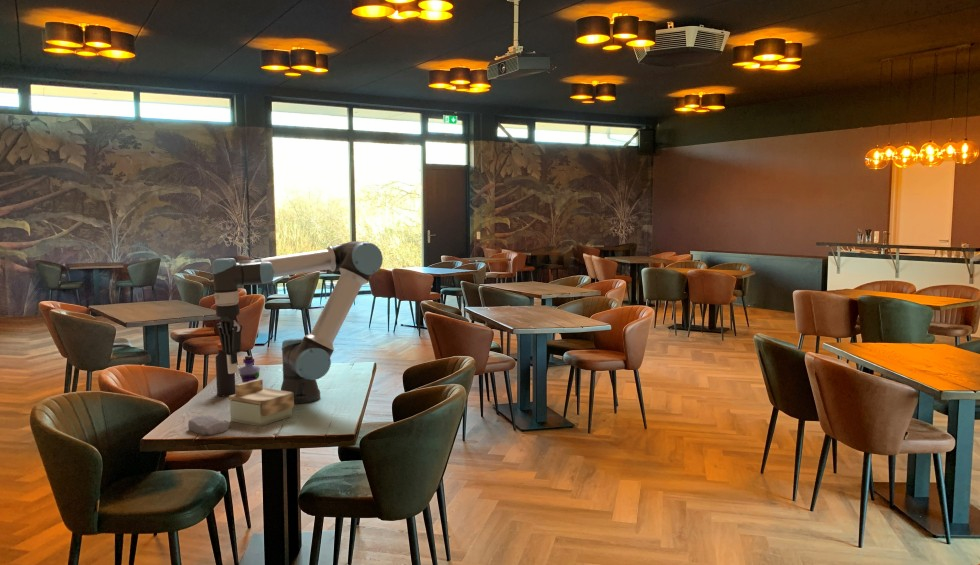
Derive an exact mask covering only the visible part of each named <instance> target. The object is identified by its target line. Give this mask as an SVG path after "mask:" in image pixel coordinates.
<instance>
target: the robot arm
mask: <svg viewBox="0 0 980 565" xmlns="http://www.w3.org/2000/svg"><path fill="white" fill-rule="evenodd" d="M383 259H384V257H383V254H382V251H381V249H380V248H379V247H378V246H377V245H376V244H375V243H373V242H369V241H366V240H365V241H353V240H352V241H348V242H343V243H340V244H337V245H330V246H329V245H328V246H327V248H326V249H320V250H314V251H306V252H305V251H304V252H300V253H299V252H297V253H292V254H291V253H290V254H285V255H276V256H271V257H263V258H262V257H261V258H255V259H249V260H248V259H243V260H239V261H238V262H237V261H236V259H235V258H233V257H226V258H215V259H214V260H213V261H212V262H211V263H212V272H211V273H212V280H213V282H212V283H213V290H214V291H213V292H214V296H213V299H214V301H215V302H214V303H215V314H216V315H215V316H216V318H219V323H216V325H215V327H216V328H217V331H218V336H219V340H220V343H221V347H222V351H223V352H225V354H227V366H228V373H229V374H232V373H235V374H236V373H238V372H239V370H238V361H237V360H238V359H237V358H238V357H237V355H238V353H240V352H241V343H242V342H241V341H242V340H241V339H242V338H241V337H242V329H243V325H241V324H240V325H239V324H238V318H237V316H239V315H240V314H241V311H240V304H239V302H240V298H239V289H238V287H239V286H247V285H260V284H262V285H264V284H267V283H268V284H269V283H272V282H273V280H274V278H280V277H285V276H292V275H299V274H307V273H313V272H321V271H326V270H329V271H331V272H338V271H339V272H340V275H339V278H338V279H337V282H336V283H335V286H334V287H333V289H332V292H331V293H330V296H329V297H328V299H327V301H326V303H325V304H324V307H323V309H322V310H321V313H320V315H319V316H318V319H317V321H316V322H315V324H314V326H313V328H312V330H311V332H310V333H308V334H305V335H304V336H303V337H301V338H292V339H285V340H283V341H282V342H281V343H282V345H281V352H282V353H281V354H282V355H281V356H282V382H281V383H282V384H281V386H280V387H281V388H280V390H282V391H289V392H292V393H294V405H295V404H306V403H312V402H315V401H318V400H320V399H321V390H320V388H319V386H318V383H317V380H319V379H321V378H323V377H324V376H326V375H327V374H328V372H329V371H330V368H331V365H332V360H331V357H332V355H333V353H334V351H335V348H334V345H333V344H334V341H335V339H336V338H337V335H339V334H338V333H339V331H340V330H341V328H342V325H343V324H344V322H345V320H346V317H347V316H348V314H349V312H350V310H351V308H352V307H353V304H354V302H355V300H356V297H357V296H358V294H359V292H360V291H361V288H362V286H363V285H366V284H369V282H370V279H371V277H372V276H373V274H375V273H377V272H378V271H379V270H380V269H381V267H382V266H383V265H382V264H383Z"/></svg>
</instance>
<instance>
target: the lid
mask: <svg viewBox="0 0 980 565" xmlns="http://www.w3.org/2000/svg"><path fill="white" fill-rule="evenodd" d="M263 382H264V381H263V379H261V378H260V379H259V378H258V379H256V380H252V381H248V382H244V383H243V382H241V383H237V384H236V383H235V392H236V393H235V394H234V395H230V396H228V400H229V401H230V400H235V401H241V402H247V403H253V404H259V405H261V404H262V416H267V415H270V414H274V413H277V412H280V411H283V410H286V409H290V408H292V409H293V408H295V404H294V393H292V392H289V391H282V390H281V389H275V388H267V387H264V386H263V385H264V384H263Z"/></svg>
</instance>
